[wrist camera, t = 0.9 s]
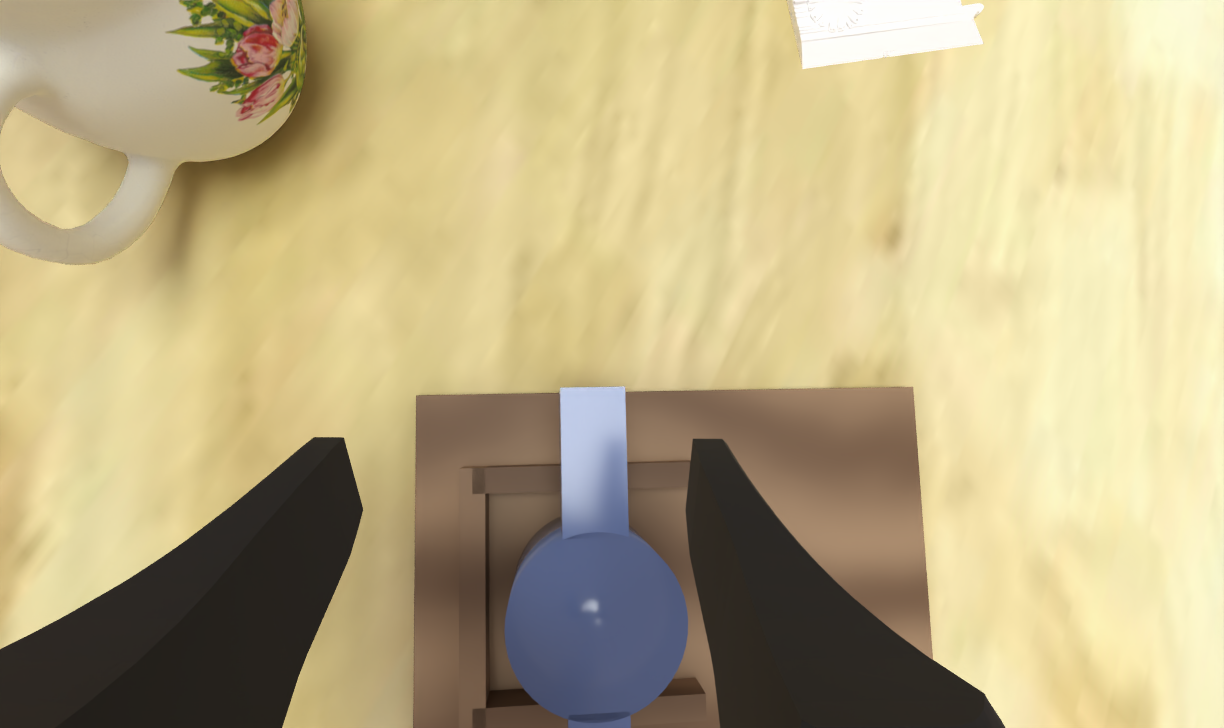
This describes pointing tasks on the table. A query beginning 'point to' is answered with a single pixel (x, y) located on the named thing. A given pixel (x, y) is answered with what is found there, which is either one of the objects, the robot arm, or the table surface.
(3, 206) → the pitcher
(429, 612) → the stand
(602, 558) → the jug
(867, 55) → the butcher knife
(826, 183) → the table surface
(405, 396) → the table surface
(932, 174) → the table surface
